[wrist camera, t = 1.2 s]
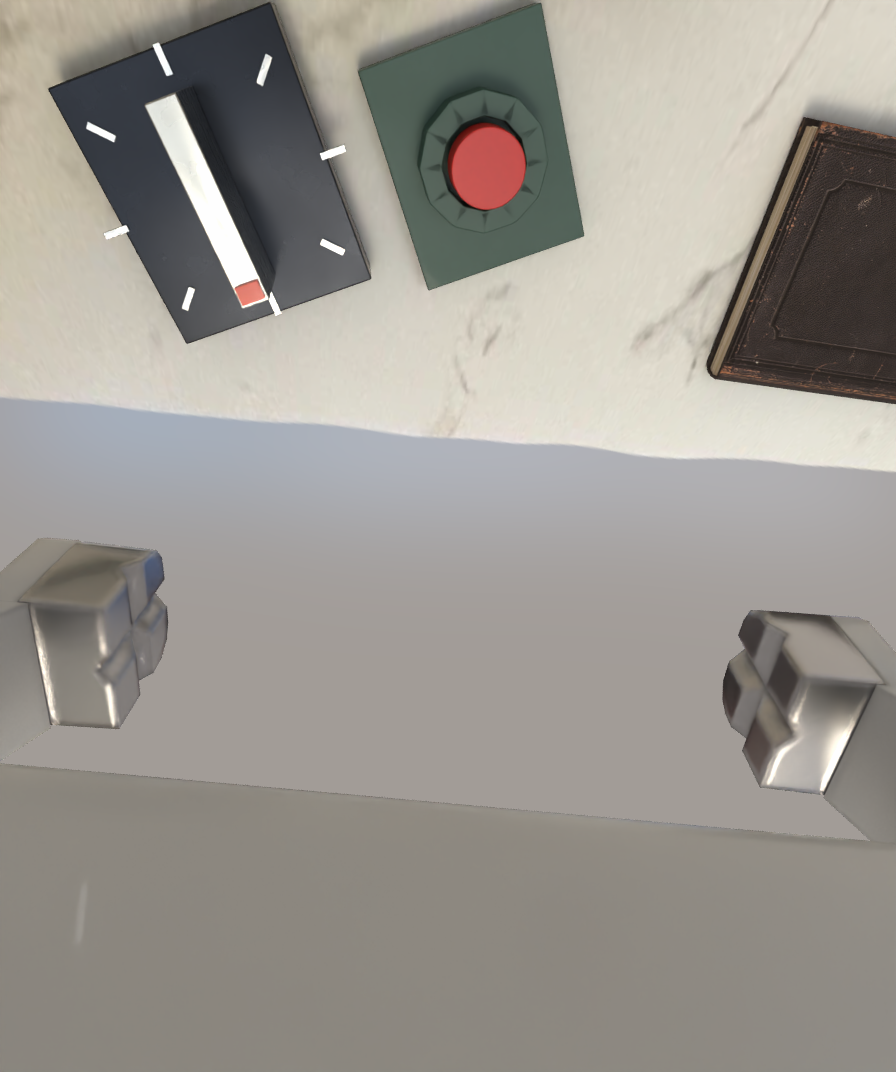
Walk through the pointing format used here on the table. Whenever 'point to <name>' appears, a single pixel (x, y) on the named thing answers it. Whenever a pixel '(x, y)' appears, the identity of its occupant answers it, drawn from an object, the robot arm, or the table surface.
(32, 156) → the table surface
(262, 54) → the control panel
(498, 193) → the button
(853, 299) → the hardcover book
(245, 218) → the knob
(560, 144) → the button box
